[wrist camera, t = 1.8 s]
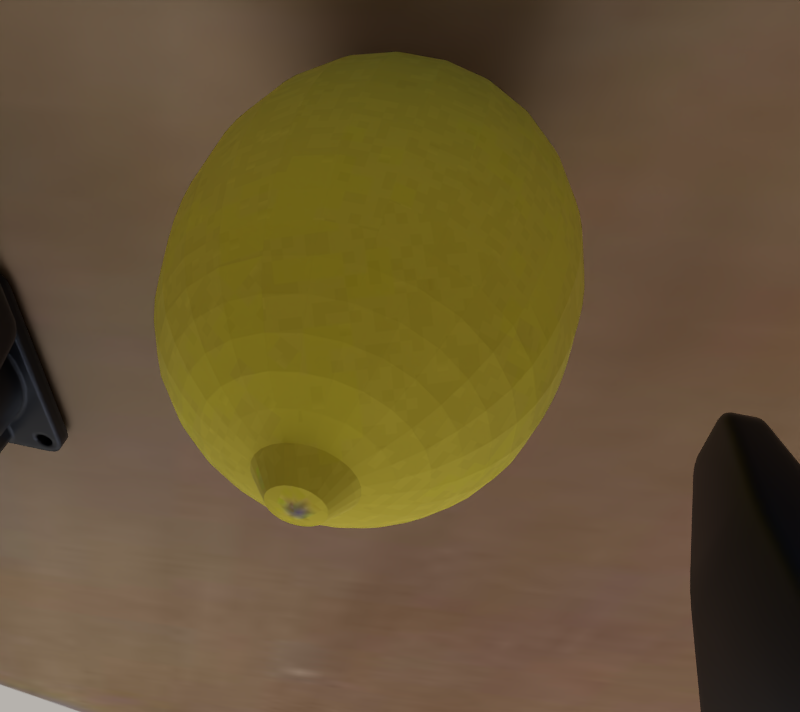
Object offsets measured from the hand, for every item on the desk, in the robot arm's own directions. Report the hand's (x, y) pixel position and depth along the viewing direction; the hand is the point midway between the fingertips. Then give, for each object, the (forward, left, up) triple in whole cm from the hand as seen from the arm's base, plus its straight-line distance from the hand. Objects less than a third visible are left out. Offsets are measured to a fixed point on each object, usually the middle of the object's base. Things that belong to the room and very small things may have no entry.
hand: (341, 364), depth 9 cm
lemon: (0, 0, -6) cm, 6 cm away
